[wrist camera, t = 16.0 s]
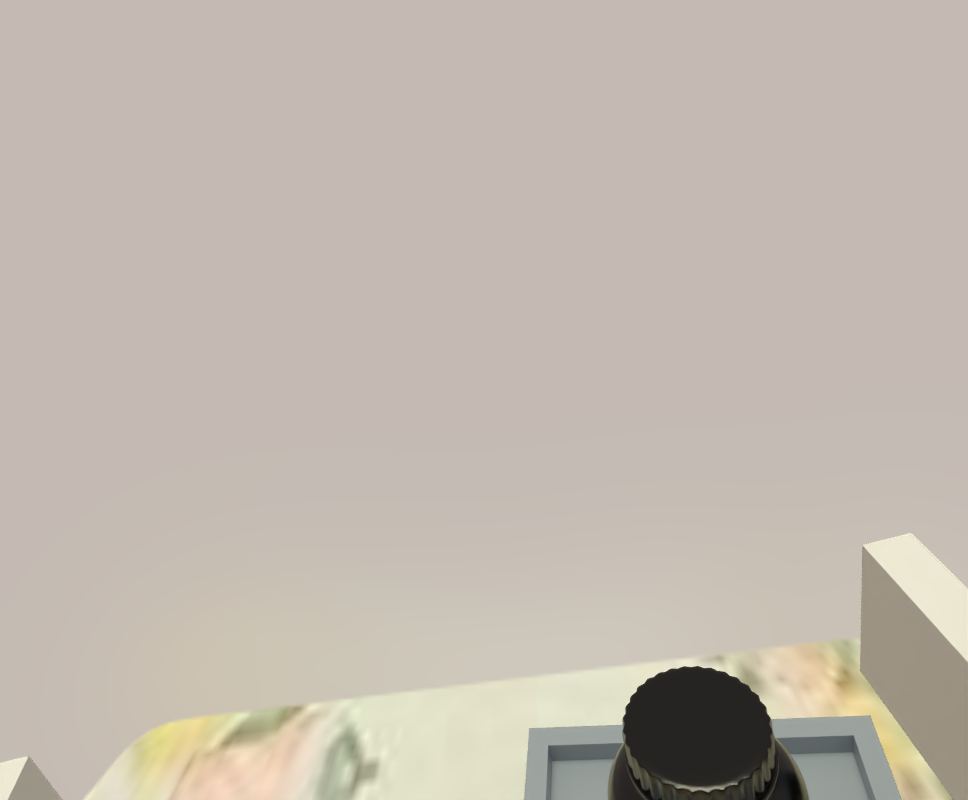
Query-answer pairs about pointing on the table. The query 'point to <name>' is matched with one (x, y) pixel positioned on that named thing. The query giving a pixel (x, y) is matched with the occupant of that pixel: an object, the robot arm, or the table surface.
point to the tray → (810, 741)
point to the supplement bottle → (701, 743)
